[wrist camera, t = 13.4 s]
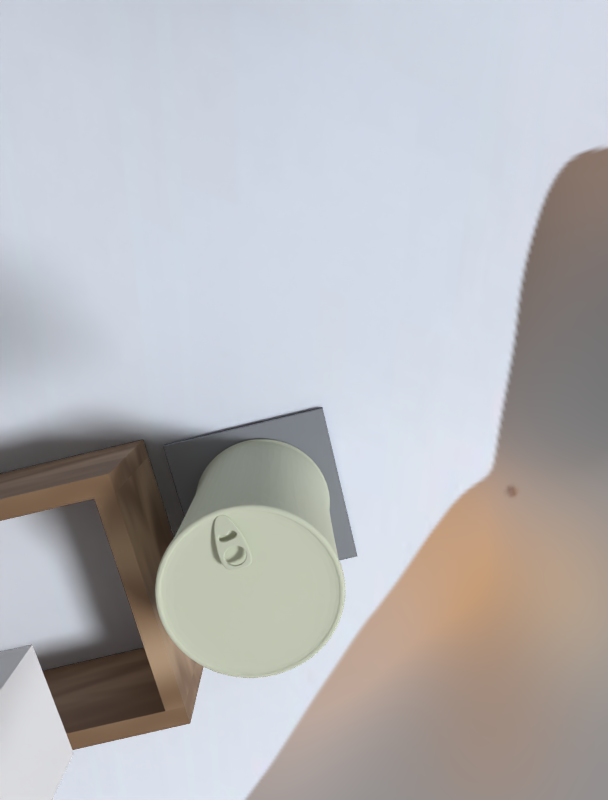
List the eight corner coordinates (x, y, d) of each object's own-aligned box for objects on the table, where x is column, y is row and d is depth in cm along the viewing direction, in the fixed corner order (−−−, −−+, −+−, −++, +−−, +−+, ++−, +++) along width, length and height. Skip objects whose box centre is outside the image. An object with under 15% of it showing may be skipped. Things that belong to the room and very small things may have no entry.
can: (304, 419, 36) (311, 481, 24) (346, 540, 37) (372, 653, 26) (175, 463, 36) (119, 545, 24) (223, 581, 38) (193, 710, 26)
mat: (164, 444, 36) (163, 446, 36) (322, 407, 36) (322, 408, 35) (207, 587, 38) (206, 591, 38) (356, 553, 38) (357, 556, 38)
